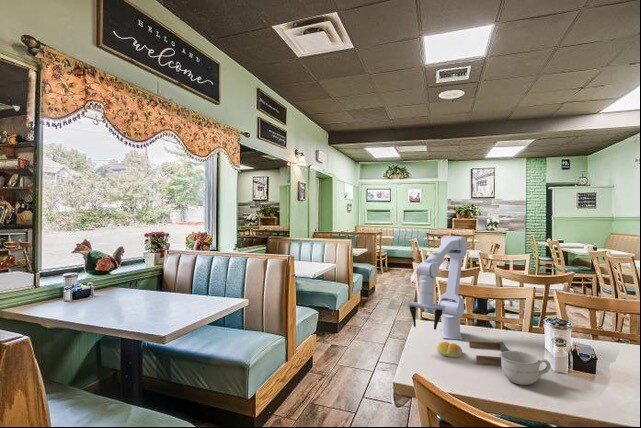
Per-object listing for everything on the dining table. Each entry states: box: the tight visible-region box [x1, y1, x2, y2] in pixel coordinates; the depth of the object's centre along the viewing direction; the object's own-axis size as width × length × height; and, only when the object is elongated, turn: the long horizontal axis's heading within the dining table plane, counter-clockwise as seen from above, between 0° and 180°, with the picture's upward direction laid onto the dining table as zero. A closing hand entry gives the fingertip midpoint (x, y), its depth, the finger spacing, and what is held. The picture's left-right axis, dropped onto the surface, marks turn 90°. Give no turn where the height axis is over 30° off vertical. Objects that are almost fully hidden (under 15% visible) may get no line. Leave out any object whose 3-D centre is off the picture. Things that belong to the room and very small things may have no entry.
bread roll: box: [436, 341, 463, 359], centre depth 131 cm, size 8×9×4 cm
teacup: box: [500, 350, 551, 386], centre depth 108 cm, size 14×11×8 cm
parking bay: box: [468, 339, 510, 367], centre depth 127 cm, size 16×12×2 cm
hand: (424, 327), depth 132 cm, fingers open, 7 cm apart
